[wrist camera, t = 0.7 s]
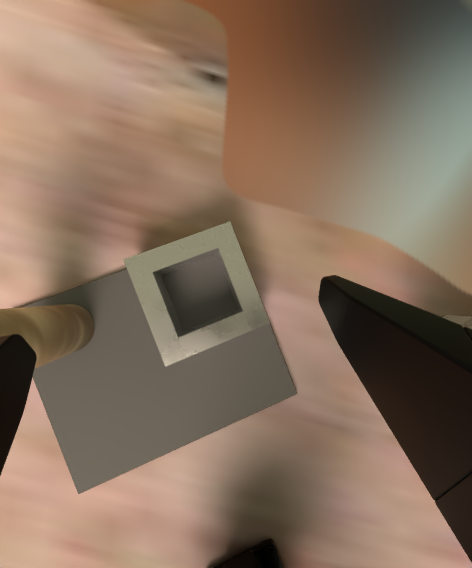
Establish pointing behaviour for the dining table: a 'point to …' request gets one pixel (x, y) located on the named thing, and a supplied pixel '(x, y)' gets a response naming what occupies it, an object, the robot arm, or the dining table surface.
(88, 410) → the mat
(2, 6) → the dining table surface
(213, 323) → the square socket block
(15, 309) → the pin
